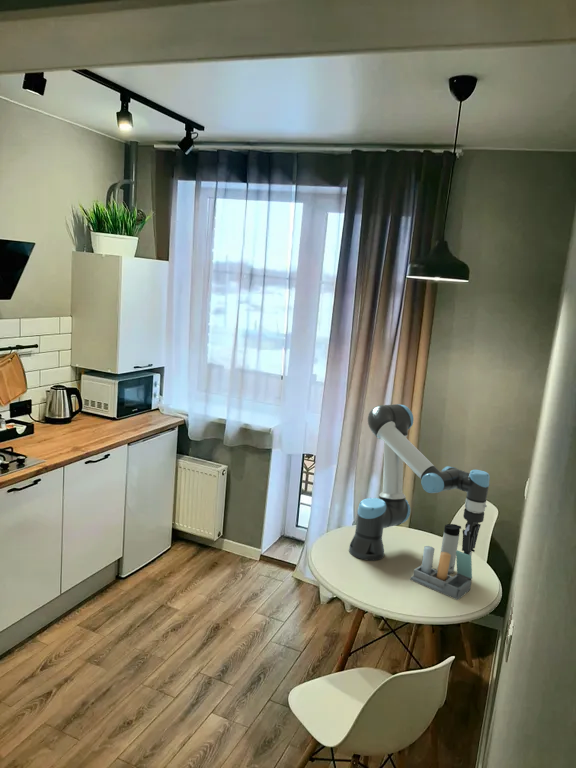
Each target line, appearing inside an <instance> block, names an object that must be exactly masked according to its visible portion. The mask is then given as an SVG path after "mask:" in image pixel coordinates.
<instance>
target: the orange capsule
mask: <svg viewBox="0 0 576 768" xmlns="http://www.w3.org/2000/svg"><path fill="white" fill-rule="evenodd" d="M450 559H451V554H449V553H447V552H441V551H440V554H439V562H438V566H437V576H436V578H438V579H440V580H443V581H446V580H447V575H449V574H448V570H449V564H450Z"/></svg>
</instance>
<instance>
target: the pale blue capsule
mask: <svg viewBox="0 0 576 768" xmlns="http://www.w3.org/2000/svg"><path fill="white" fill-rule="evenodd" d="M434 553H435V548H434V547H433V546H430V545H425V546H424V548H423V554H422V562H421V565H422V567H421V572H423V573H426V574H428V575H430V574H431V570H432V569H433V562H434V556H435V554H434Z"/></svg>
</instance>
